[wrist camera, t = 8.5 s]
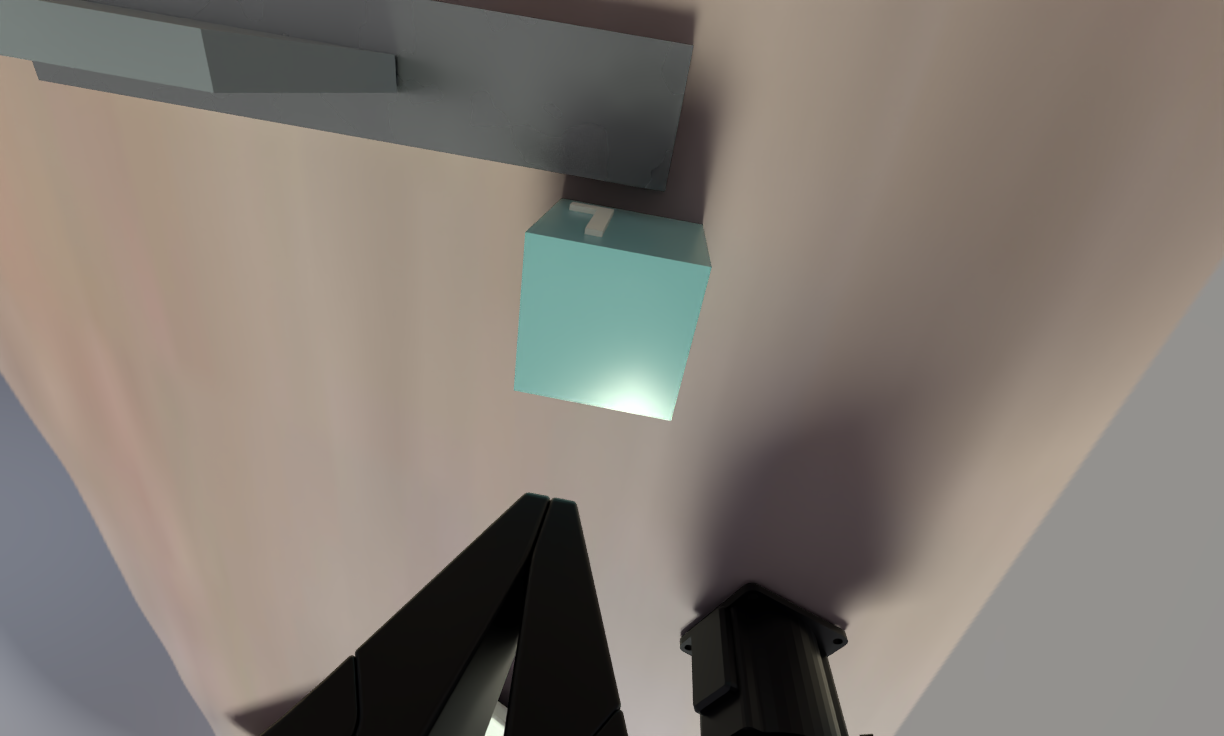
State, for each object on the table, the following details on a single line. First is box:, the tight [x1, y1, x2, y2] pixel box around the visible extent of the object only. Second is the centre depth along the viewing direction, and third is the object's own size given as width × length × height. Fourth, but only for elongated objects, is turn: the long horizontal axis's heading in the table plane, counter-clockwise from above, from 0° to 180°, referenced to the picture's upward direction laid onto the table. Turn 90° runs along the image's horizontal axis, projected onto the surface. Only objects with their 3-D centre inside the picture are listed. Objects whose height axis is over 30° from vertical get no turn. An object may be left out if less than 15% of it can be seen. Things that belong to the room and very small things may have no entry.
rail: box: [32, 0, 694, 192], centre depth 16 cm, size 21×4×1 cm, turn 82°
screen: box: [0, 0, 397, 93], centre depth 12 cm, size 12×1×7 cm, turn 81°
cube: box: [514, 198, 712, 421], centre depth 17 cm, size 5×5×5 cm
